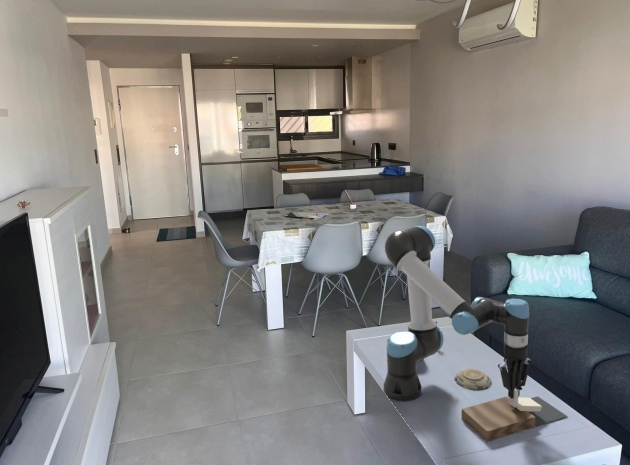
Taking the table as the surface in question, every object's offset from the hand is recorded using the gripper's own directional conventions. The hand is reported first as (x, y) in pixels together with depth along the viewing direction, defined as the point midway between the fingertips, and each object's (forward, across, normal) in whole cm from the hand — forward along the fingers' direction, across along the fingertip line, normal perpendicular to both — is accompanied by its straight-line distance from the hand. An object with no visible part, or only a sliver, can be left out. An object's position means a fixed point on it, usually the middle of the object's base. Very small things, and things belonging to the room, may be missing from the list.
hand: (513, 404), depth 170 cm
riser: (+6, -6, 0) cm, 9 cm away
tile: (+2, +5, 0) cm, 5 cm away
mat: (+6, +11, 0) cm, 12 cm away
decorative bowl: (+6, +3, +27) cm, 28 cm away
